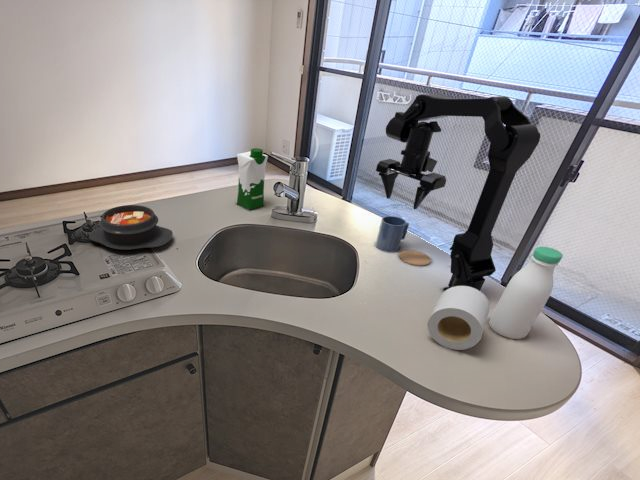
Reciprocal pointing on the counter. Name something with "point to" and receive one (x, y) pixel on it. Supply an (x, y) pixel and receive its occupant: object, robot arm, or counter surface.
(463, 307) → the toilet paper
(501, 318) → the milk bottle
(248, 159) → the milk carton
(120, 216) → the casserole
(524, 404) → the counter surface
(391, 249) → the blue ceramic cup
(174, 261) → the counter surface
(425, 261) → the coaster
